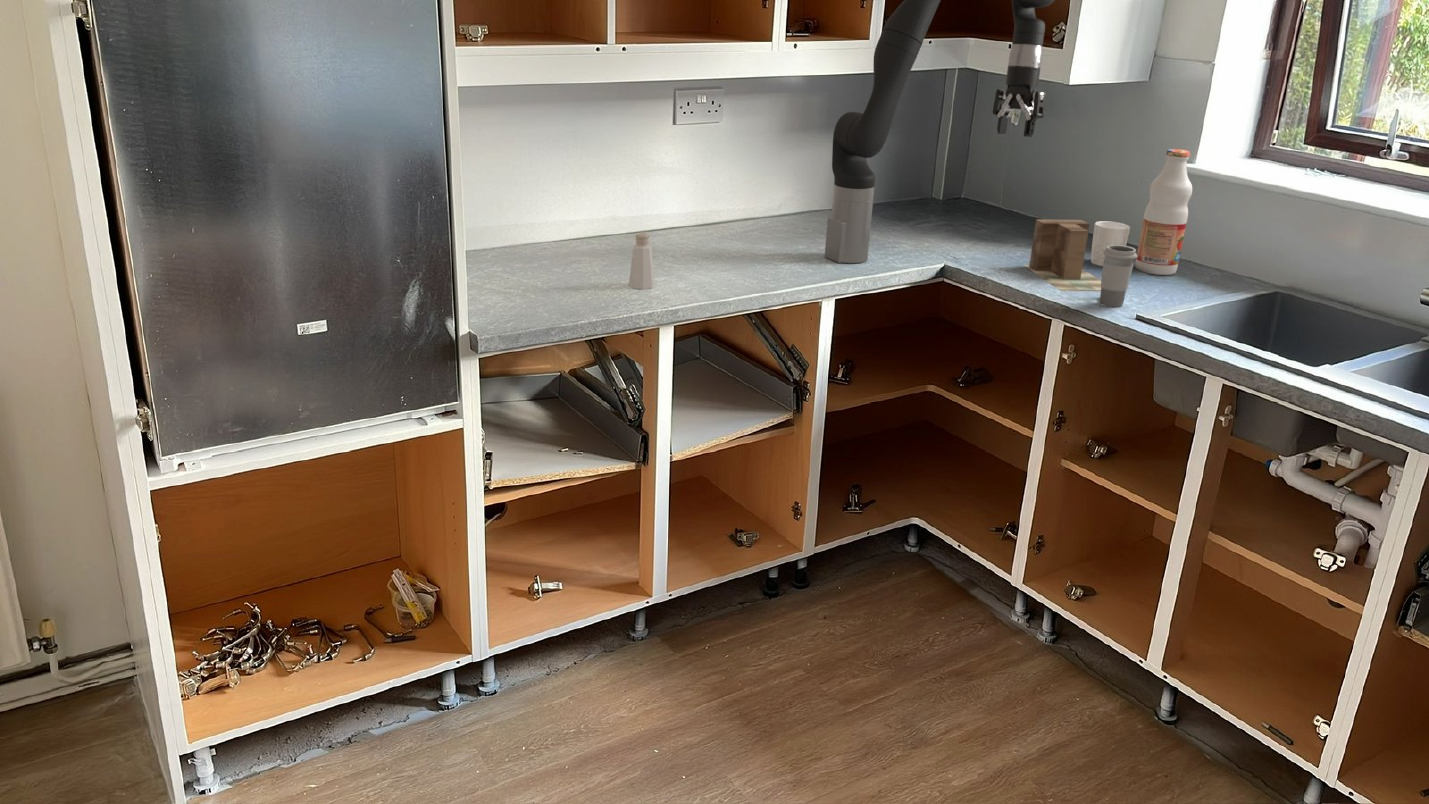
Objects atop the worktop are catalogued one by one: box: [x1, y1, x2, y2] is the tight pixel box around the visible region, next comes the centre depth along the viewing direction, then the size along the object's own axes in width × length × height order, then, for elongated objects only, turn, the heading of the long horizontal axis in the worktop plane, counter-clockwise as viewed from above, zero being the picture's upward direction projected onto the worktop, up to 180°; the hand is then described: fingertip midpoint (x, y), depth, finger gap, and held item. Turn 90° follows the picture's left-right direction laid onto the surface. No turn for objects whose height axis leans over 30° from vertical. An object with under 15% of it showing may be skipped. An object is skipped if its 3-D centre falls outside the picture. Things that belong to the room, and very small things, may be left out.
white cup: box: [1090, 220, 1131, 267], centre depth 259 cm, size 8×8×10 cm
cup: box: [1099, 245, 1137, 308], centre depth 229 cm, size 7×7×12 cm
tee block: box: [1028, 218, 1090, 279], centre depth 248 cm, size 11×11×11 cm
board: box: [1023, 264, 1101, 292], centre depth 247 cm, size 21×13×1 cm, turn 8°
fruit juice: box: [1134, 148, 1193, 276], centre depth 254 cm, size 9×9×28 cm
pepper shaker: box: [628, 232, 656, 290], centre depth 227 cm, size 5×5×11 cm
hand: (1014, 135), depth 265 cm, fingers open, 8 cm apart
